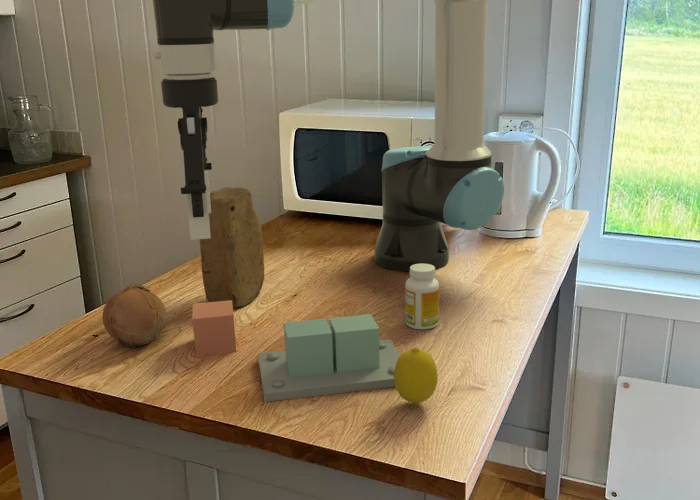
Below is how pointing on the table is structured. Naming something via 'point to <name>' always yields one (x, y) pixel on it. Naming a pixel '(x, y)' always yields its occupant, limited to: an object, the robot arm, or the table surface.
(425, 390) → the lemon
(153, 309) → the onion
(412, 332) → the table surface
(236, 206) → the rough sandstone chunk
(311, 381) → the build plate
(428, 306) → the supplement bottle
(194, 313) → the brick block
